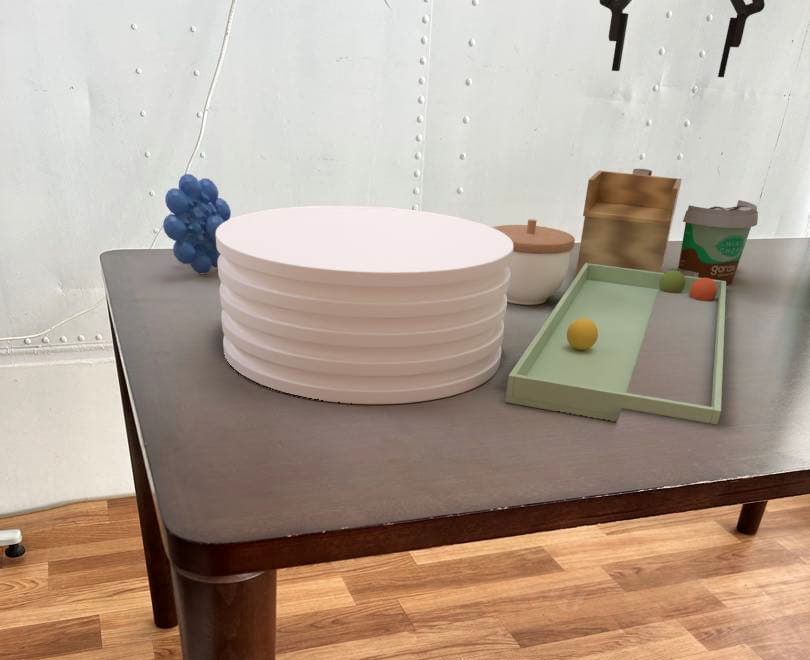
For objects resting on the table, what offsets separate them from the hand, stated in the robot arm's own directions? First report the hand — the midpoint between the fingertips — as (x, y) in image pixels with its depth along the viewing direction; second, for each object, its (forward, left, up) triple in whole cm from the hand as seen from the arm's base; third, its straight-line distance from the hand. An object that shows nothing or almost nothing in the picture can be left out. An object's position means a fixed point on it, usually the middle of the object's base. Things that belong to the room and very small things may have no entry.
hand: (667, 74), depth 108 cm
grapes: (+50, +36, -25) cm, 66 cm away
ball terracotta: (-11, +19, -23) cm, 31 cm away
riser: (+1, +8, -25) cm, 26 cm away
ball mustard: (+1, +44, -23) cm, 49 cm away
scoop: (+1, +6, -16) cm, 17 cm away
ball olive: (-7, +17, -23) cm, 29 cm away
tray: (-4, +37, -25) cm, 45 cm away
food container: (-12, +4, -25) cm, 28 cm away
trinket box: (+11, +26, -25) cm, 37 cm away
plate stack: (+22, +53, -25) cm, 63 cm away
